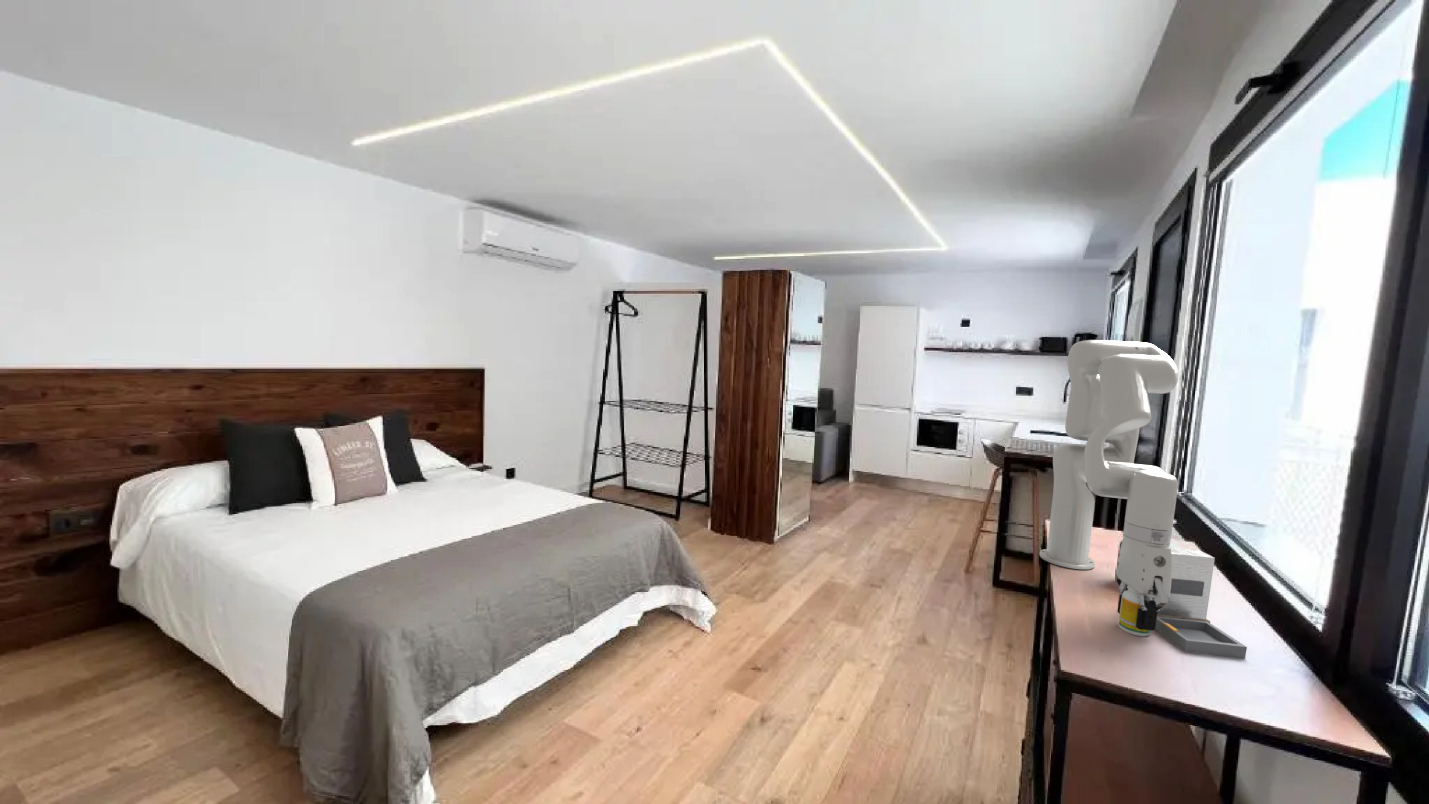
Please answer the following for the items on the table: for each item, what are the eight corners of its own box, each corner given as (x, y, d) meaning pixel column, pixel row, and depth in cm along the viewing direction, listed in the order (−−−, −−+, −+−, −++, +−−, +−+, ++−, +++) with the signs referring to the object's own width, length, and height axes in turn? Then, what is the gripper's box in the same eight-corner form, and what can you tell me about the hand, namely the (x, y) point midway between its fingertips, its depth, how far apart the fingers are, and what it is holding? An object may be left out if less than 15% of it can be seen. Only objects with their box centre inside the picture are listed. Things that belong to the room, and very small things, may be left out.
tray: (1151, 626, 118) (1152, 614, 117) (1205, 631, 116) (1207, 620, 116) (1184, 651, 108) (1186, 639, 107) (1245, 658, 106) (1247, 646, 106)
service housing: (1134, 609, 125) (1142, 543, 124) (1189, 615, 124) (1198, 548, 123) (1151, 622, 119) (1160, 553, 118) (1209, 628, 118) (1219, 558, 117)
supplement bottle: (1117, 621, 119) (1123, 576, 118) (1149, 629, 116) (1155, 583, 115) (1118, 631, 114) (1124, 585, 114) (1152, 640, 112) (1158, 592, 111)
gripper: (1198, 550, 104) (1184, 645, 106) (1141, 522, 121) (1130, 605, 123) (1153, 546, 105) (1140, 640, 107) (1102, 519, 122) (1092, 601, 124)
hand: (1135, 620), depth 115 cm, fingers open, 5 cm apart
